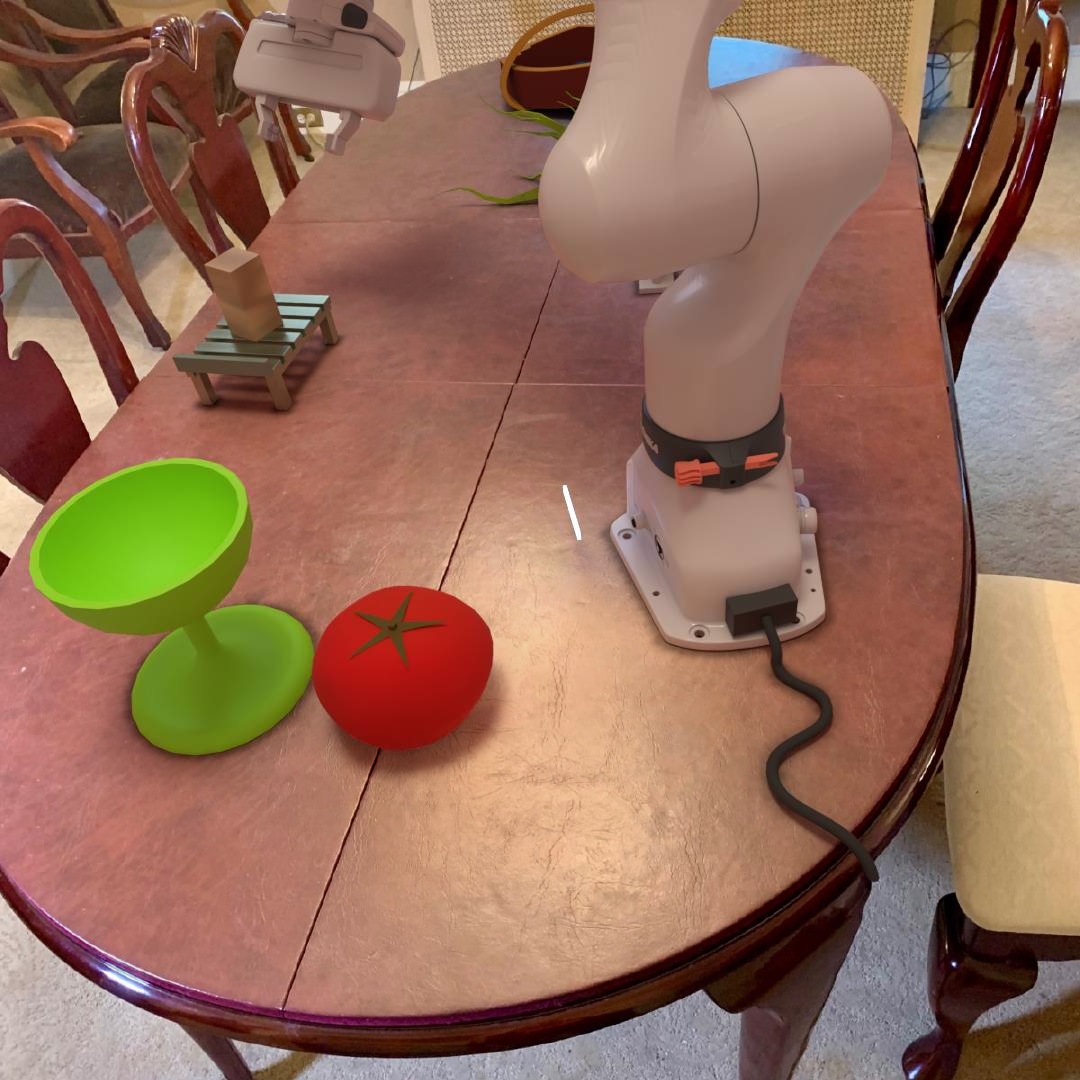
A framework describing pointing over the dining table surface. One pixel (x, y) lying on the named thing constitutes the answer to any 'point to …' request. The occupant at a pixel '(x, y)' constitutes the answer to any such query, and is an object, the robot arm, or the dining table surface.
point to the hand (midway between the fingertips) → (299, 146)
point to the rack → (260, 348)
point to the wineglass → (176, 600)
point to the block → (244, 293)
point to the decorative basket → (549, 65)
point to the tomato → (403, 666)
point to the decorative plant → (522, 197)
